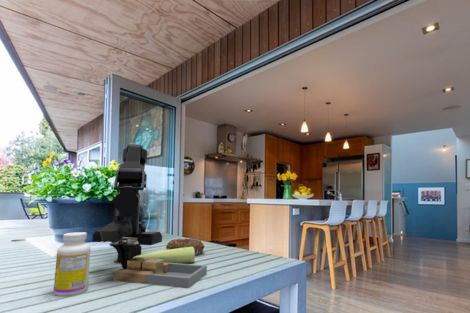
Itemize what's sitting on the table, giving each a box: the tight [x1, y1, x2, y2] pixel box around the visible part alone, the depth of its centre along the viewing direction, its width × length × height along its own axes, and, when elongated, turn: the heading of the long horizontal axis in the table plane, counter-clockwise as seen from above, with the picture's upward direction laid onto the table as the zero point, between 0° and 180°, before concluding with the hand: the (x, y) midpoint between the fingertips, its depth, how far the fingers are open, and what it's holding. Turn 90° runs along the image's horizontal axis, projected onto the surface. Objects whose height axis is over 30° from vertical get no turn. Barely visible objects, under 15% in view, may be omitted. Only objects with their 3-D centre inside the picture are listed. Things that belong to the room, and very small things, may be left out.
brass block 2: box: [142, 258, 164, 275], centre depth 74 cm, size 4×4×4 cm
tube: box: [133, 247, 196, 264], centre depth 87 cm, size 6×5×20 cm
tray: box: [146, 263, 208, 289], centre depth 72 cm, size 11×12×2 cm
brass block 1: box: [127, 257, 149, 271], centre depth 75 cm, size 4×4×4 cm
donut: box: [165, 238, 205, 256], centre depth 103 cm, size 14×14×5 cm
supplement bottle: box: [53, 231, 91, 297], centre depth 63 cm, size 7×7×13 cm
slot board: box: [112, 262, 169, 285], centre depth 75 cm, size 10×12×2 cm
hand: (125, 269), depth 76 cm, fingers closed
